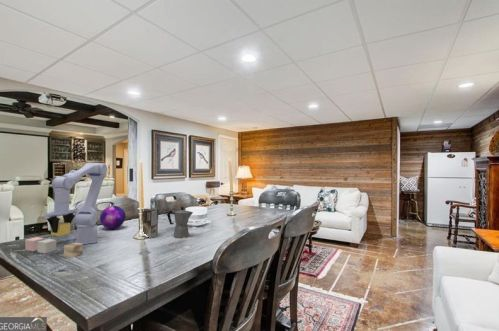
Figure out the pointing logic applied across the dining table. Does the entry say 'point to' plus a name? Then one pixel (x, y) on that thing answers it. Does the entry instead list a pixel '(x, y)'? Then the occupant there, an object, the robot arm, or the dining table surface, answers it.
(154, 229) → the coffee box
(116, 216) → the decorative orb
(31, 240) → the pink block
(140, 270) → the dining table surface
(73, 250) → the maple block
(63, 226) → the mustard block
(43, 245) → the grey block
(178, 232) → the coffeepot
